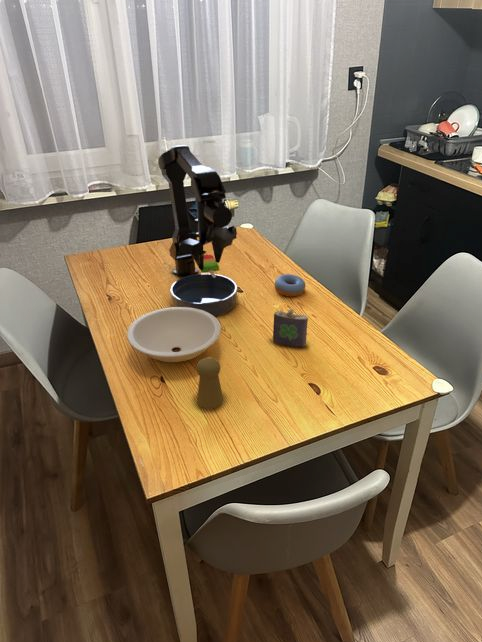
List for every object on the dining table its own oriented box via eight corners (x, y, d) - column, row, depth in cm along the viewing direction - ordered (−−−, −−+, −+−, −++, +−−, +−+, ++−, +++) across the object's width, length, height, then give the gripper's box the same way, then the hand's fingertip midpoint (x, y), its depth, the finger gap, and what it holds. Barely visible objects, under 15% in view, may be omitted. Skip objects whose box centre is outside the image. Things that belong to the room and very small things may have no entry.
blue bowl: (158, 303, 153) (156, 289, 150) (204, 281, 166) (203, 268, 164) (205, 326, 142) (204, 310, 140) (250, 300, 156) (250, 286, 153)
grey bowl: (145, 388, 118) (141, 366, 114) (120, 339, 136) (116, 318, 132) (236, 362, 127) (236, 341, 124) (202, 319, 145) (200, 299, 142)
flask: (306, 343, 135) (309, 309, 130) (304, 349, 133) (306, 315, 127) (274, 338, 137) (275, 304, 132) (271, 343, 135) (272, 309, 129)
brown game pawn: (197, 392, 117) (194, 354, 111) (223, 391, 117) (221, 353, 112) (196, 409, 112) (193, 370, 106) (223, 408, 112) (222, 369, 106)
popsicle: (212, 259, 158) (212, 253, 157) (223, 279, 146) (223, 273, 145) (195, 261, 156) (194, 255, 155) (205, 281, 144) (205, 275, 143)
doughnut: (310, 294, 159) (311, 282, 157) (283, 301, 156) (283, 288, 153) (295, 282, 167) (296, 269, 164) (269, 287, 163) (269, 275, 161)
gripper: (205, 231, 132) (208, 284, 140) (249, 214, 144) (249, 263, 153) (176, 222, 138) (180, 273, 146) (221, 206, 150) (222, 254, 158)
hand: (209, 266), depth 151 cm, fingers closed on popsicle, 7 cm apart
